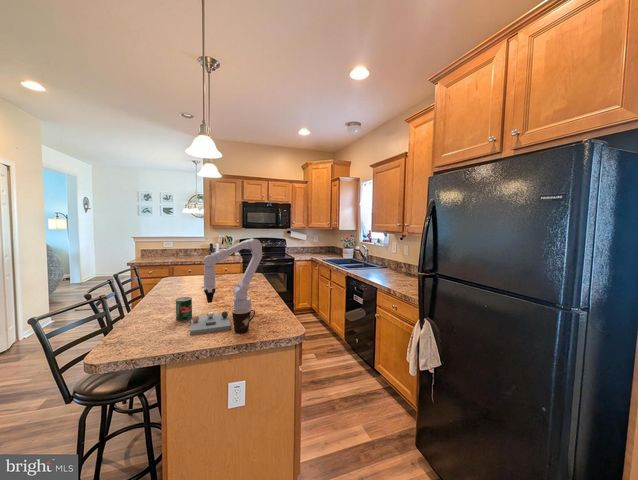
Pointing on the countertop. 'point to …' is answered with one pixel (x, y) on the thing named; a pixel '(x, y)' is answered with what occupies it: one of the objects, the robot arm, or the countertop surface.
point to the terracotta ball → (195, 318)
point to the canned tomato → (183, 309)
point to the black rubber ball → (224, 314)
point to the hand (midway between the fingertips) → (209, 302)
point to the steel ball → (210, 315)
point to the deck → (210, 324)
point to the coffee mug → (241, 320)
